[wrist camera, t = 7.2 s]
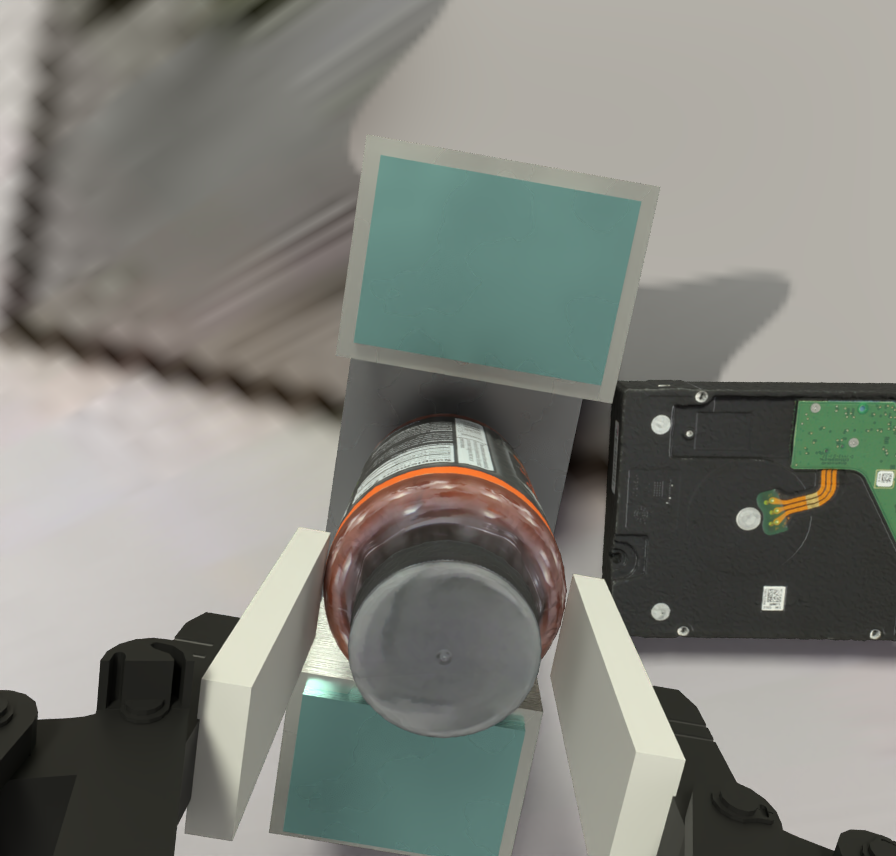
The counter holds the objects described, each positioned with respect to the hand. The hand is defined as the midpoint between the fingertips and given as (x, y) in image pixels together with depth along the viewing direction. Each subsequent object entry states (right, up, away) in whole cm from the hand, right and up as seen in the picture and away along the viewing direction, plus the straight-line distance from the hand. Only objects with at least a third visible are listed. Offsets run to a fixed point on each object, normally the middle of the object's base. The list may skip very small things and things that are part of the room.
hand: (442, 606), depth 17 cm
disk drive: (+14, +1, +13) cm, 20 cm away
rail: (0, +3, +13) cm, 13 cm away
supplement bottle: (0, +2, +9) cm, 9 cm away
